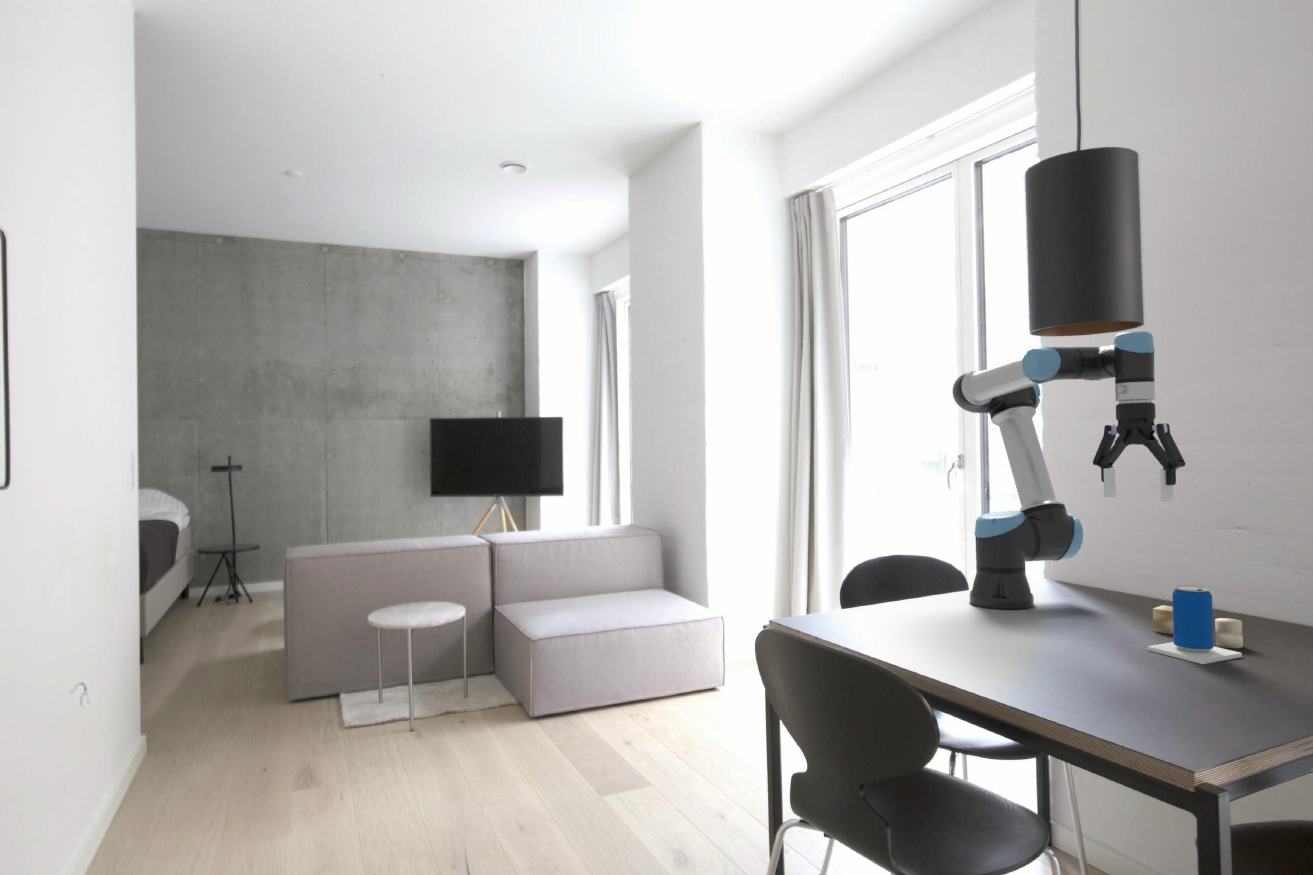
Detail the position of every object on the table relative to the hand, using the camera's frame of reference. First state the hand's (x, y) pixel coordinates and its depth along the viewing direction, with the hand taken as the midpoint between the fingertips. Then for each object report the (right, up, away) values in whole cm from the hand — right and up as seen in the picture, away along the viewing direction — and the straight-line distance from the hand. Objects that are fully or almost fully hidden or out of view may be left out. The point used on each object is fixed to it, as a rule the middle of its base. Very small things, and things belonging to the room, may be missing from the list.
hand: (1137, 498), depth 177 cm
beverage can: (-1, -28, -20) cm, 35 cm away
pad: (-1, -29, -20) cm, 35 cm away
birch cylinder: (+10, -29, -15) cm, 33 cm away
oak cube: (+6, -29, -2) cm, 29 cm away
